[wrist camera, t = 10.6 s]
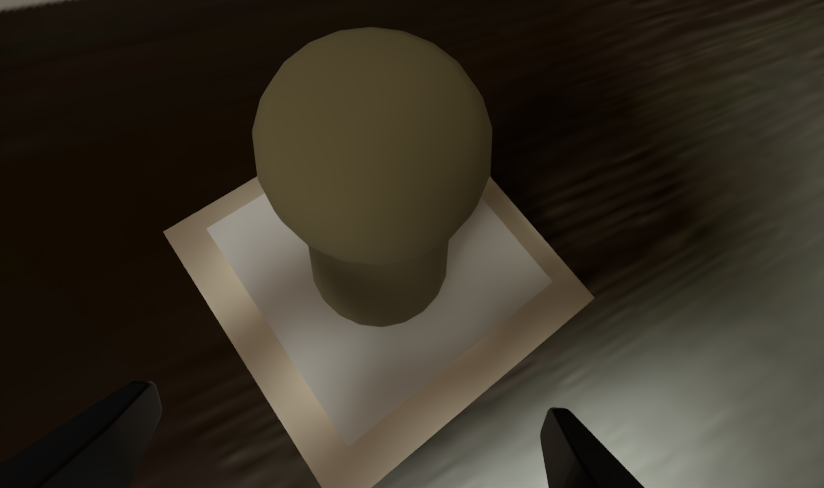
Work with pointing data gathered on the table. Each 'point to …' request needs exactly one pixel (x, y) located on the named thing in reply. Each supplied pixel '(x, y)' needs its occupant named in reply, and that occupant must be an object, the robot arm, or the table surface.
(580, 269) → the table surface
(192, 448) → the table surface
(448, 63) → the brown ball-topped peg
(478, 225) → the stepped square base
